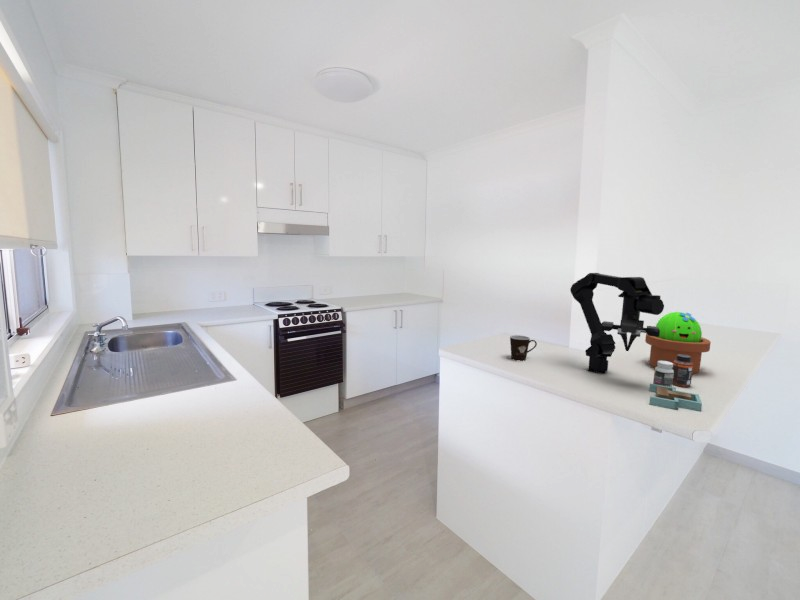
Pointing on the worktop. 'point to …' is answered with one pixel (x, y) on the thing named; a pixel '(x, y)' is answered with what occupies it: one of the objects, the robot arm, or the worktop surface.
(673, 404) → the teal angular frame
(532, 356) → the worktop surface
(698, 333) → the potted cactus
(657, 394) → the t block
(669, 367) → the pill bottle
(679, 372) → the supplement bottle
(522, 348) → the coffee mug
